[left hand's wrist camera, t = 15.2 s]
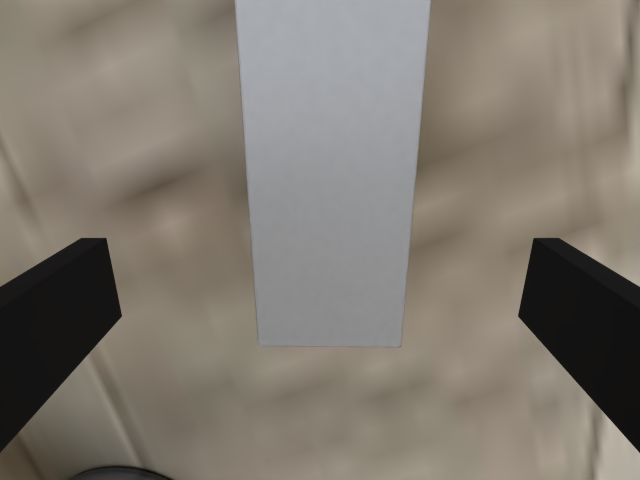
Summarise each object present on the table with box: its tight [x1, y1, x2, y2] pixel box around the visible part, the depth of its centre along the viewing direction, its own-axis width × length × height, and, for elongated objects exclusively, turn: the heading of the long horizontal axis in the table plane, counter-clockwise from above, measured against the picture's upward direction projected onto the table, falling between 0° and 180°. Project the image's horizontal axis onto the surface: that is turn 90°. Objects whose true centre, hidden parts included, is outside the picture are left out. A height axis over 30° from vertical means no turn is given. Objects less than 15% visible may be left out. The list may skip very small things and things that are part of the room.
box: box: [234, 0, 431, 347], centre depth 17 cm, size 24×6×13 cm, turn 0°
